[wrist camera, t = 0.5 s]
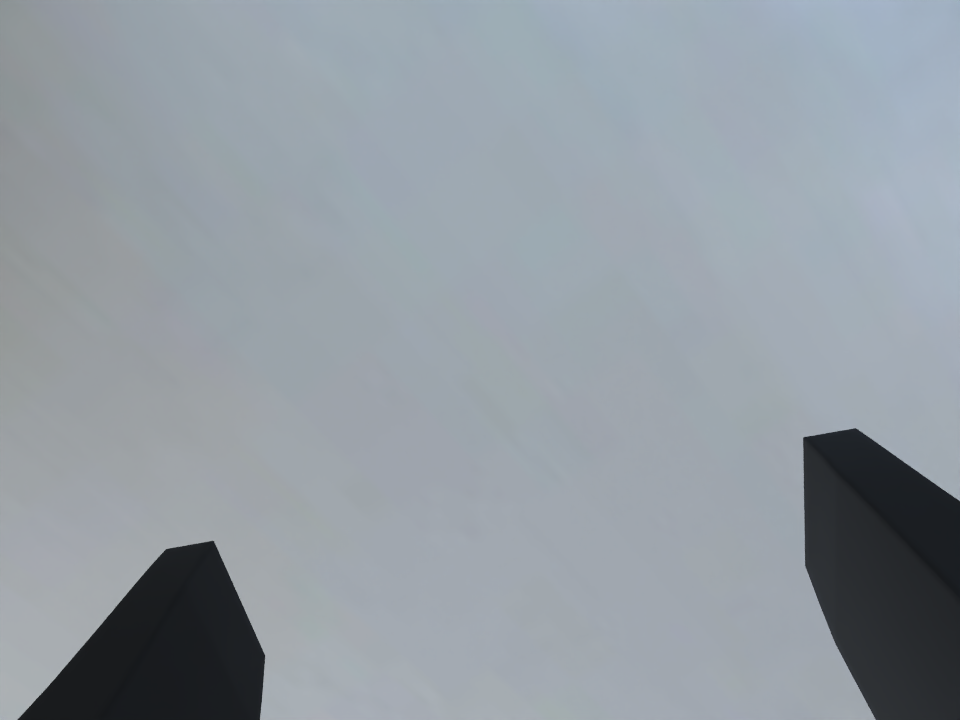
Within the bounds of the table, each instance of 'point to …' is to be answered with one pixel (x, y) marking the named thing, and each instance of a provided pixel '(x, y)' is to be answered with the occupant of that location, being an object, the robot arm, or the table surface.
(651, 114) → the table surface
